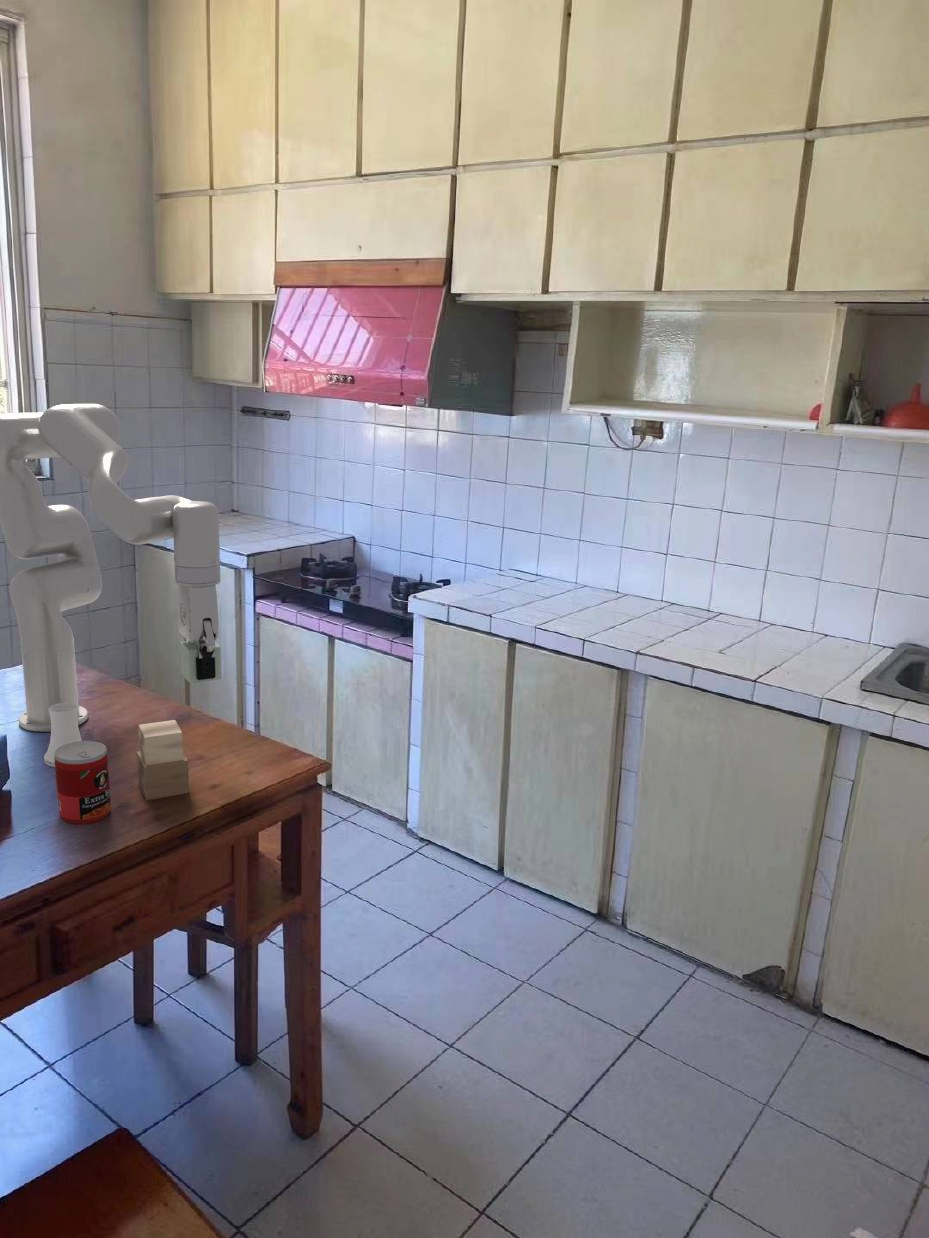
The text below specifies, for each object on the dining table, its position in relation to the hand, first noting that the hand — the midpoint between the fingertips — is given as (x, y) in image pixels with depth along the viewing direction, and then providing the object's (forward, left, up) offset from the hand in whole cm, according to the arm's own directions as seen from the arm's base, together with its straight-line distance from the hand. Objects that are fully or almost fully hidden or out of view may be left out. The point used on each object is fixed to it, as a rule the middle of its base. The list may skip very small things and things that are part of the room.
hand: (201, 672), depth 163 cm
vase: (-12, -22, -18) cm, 30 cm away
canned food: (+12, -22, -18) cm, 30 cm away
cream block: (+7, -9, -18) cm, 21 cm away
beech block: (+7, -9, -12) cm, 16 cm away
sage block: (0, 0, -1) cm, 1 cm away
